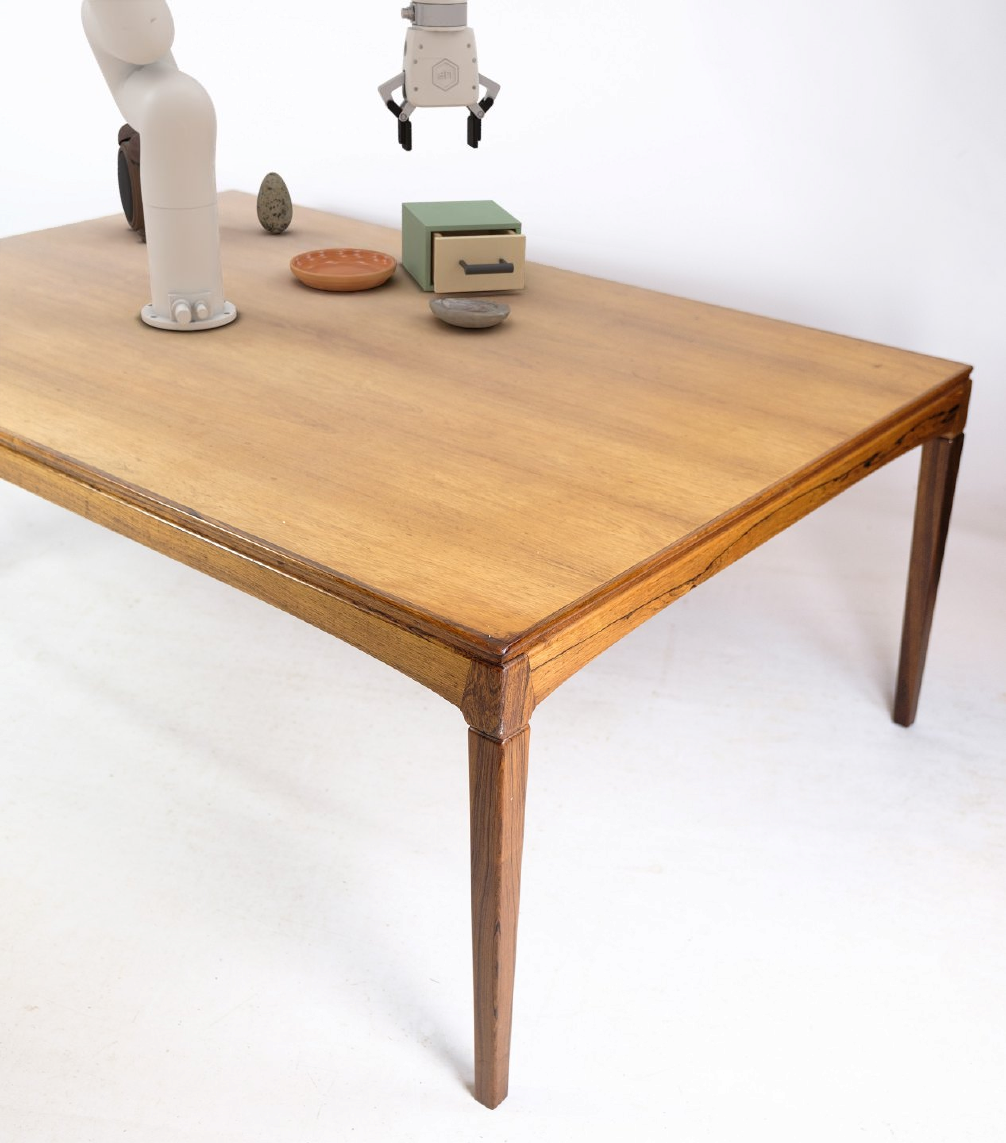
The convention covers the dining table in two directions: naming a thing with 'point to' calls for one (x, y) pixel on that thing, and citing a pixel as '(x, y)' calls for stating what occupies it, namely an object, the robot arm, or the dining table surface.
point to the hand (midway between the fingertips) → (439, 148)
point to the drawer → (477, 260)
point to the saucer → (343, 268)
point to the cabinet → (444, 229)
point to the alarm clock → (130, 178)
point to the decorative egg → (274, 204)
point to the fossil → (469, 312)
